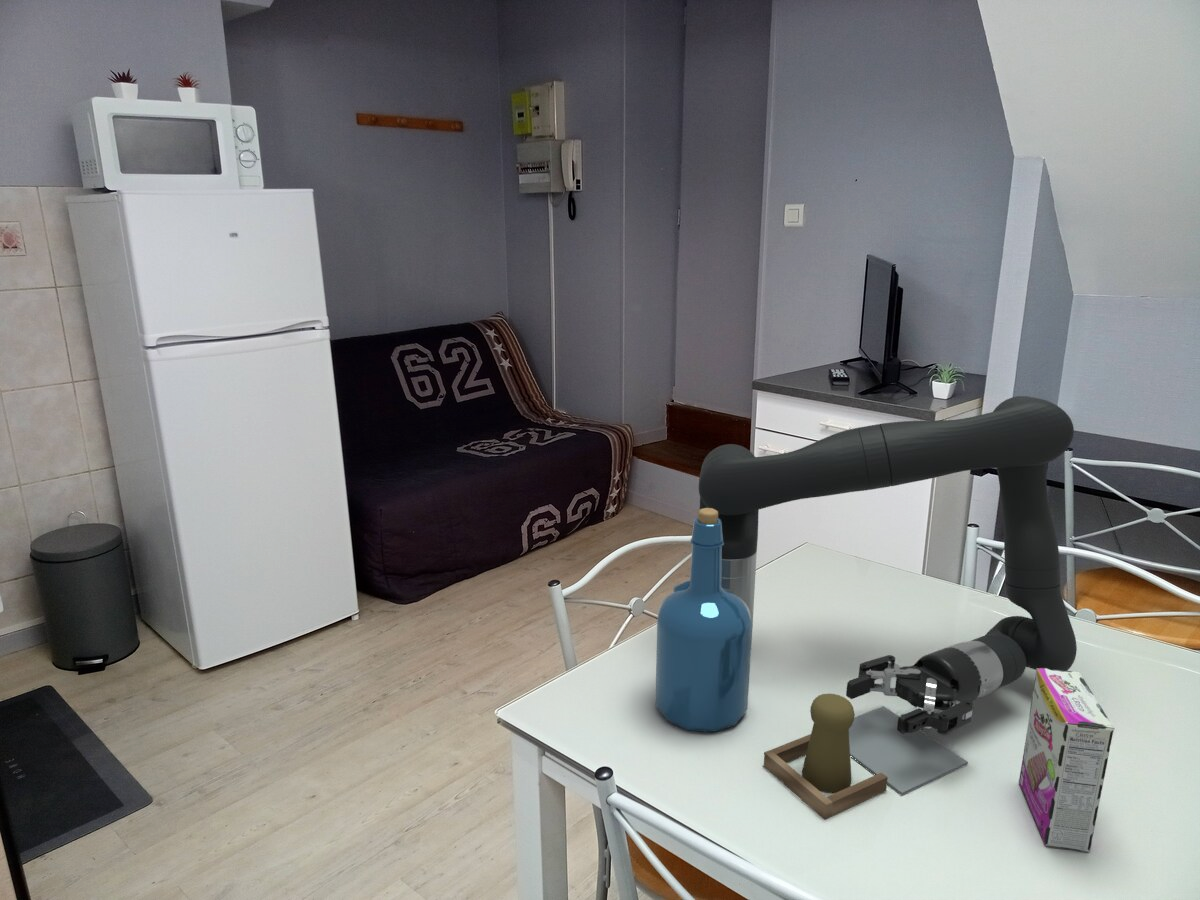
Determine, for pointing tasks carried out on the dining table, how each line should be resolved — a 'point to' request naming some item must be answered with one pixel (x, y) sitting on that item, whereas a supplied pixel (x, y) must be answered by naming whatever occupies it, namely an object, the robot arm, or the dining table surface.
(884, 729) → the slate mat
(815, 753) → the cork
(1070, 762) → the candy bar box
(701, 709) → the wine bottle
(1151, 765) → the dining table surface
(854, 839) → the dining table surface
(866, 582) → the dining table surface
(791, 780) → the wooden u-shaped frame
